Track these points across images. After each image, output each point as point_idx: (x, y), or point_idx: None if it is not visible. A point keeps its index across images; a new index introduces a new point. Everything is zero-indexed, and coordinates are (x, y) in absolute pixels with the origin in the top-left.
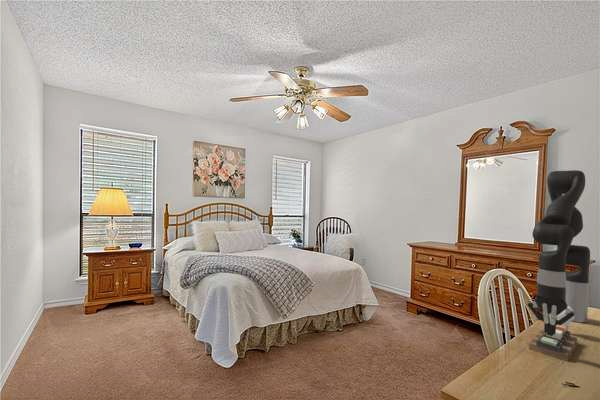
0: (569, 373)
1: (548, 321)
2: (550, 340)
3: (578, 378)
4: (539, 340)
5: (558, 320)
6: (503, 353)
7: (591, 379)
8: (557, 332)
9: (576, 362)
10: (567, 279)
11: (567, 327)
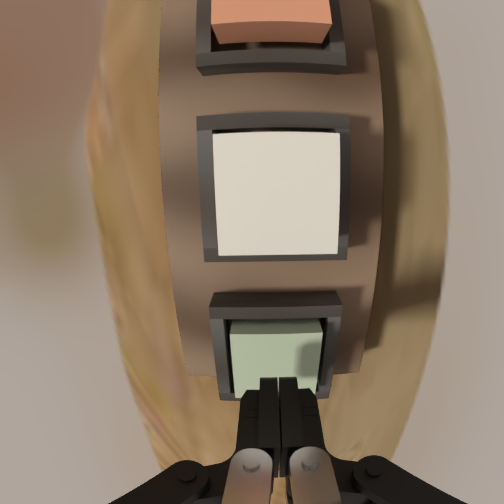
0: (350, 436)
1: (270, 498)
2: (281, 370)
3: (369, 441)
4: (226, 377)
5: (351, 501)
6: (164, 445)
7: (401, 420)
8: (311, 235)
9: (383, 331)
10: None
11: None
